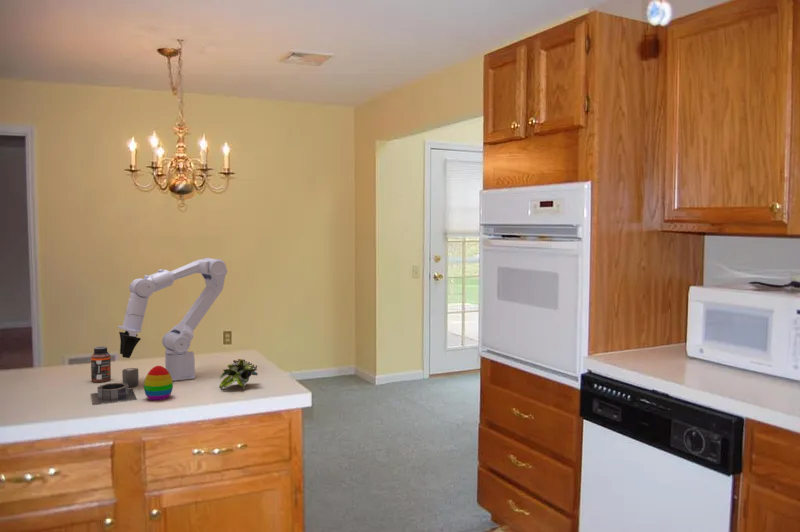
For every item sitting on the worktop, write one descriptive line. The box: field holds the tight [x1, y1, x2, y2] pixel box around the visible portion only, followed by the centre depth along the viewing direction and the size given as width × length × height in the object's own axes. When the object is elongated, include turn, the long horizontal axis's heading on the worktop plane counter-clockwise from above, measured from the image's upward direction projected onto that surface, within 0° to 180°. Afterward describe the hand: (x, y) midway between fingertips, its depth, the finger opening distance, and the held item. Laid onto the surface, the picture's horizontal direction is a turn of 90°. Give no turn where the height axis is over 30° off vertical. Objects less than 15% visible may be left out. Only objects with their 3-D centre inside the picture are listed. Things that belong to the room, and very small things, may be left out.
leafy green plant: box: [218, 358, 258, 391], centre depth 203 cm, size 11×11×12 cm
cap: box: [121, 367, 140, 389], centre depth 204 cm, size 5×5×6 cm
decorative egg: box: [143, 365, 174, 401], centre depth 191 cm, size 8×8×10 cm
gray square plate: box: [90, 382, 138, 406], centre depth 192 cm, size 12×12×3 cm
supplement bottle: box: [90, 346, 112, 383], centre depth 211 cm, size 6×6×11 cm
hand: (124, 355), depth 203 cm, fingers open, 7 cm apart
